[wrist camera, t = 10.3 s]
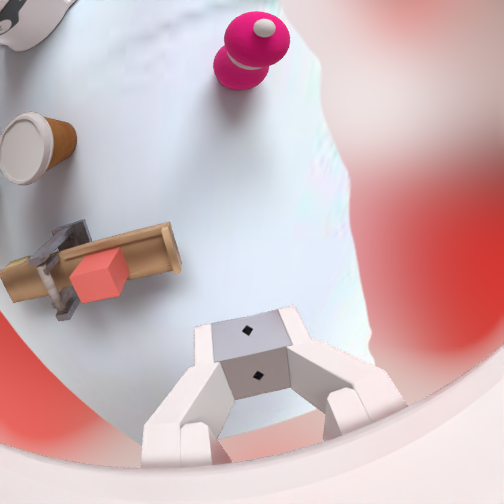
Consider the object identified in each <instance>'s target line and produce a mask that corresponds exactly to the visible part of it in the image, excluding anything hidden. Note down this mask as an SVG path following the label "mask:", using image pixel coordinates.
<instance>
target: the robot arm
mask: <svg viewBox="0 0 504 504" xmlns="http://www.w3.org/2000/svg"><path fill="white" fill-rule="evenodd" d="M75 1H76V0H0V45H7V46H8V47H10V48H11V49H12V50H14V51H25V50H28V49H30V48H32V47H34V46H35V45H37V44H38V43H40V42H41V41H42V40H44V39H45V38H46V37H47V36H48V35H49V34H50V33H51V32H52V31H53V30H54V29H55V27H56V26H57V25H58V24H59V22H60V21H61V19H62V18H63V16H64V14H65V13H66V11H67V9H68V8H69V7H70V6H71V5H72V4H73V3H74V2H75ZM290 387H291V389H293V390H294V391H295V392H296V393H298V394H299V395H300V396H302V397H303V398H304V399H305V400H307V401H308V402H309V403H311V404H312V405H313V406H315V407H316V408H317V409H319V410H320V411H322V412H323V413H324V414H326V416H325V425H324V433H323V440H324V442H321V443H317V444H314V445H311V446H308V447H304V448H300V449H297V450H293V451H289V452H285V453H281V454H277V455H272V456H268V457H263V458H257V459H252V460H246V461H241V462H234V463H232V461H231V459H230V457H229V456H228V455H227V453H226V452H225V450H224V449H223V447H222V446H221V445H220V443H219V442H218V440H217V439H218V437H219V435H220V433H221V431H222V429H223V427H224V424H225V422H226V420H227V418H228V416H229V414H230V412H231V410H232V408H233V405H234V403H235V400H238V399H242V398H247V397H251V396H255V395H259V394H263V393H268V392H273V391H277V390H282V389H286V388H290ZM0 504H504V344H502V345H501V346H500V347H499V348H497V349H496V350H495V351H494V352H493V353H491V354H490V355H489V356H487V357H486V358H485V359H483V360H482V361H481V362H479V363H478V364H477V365H475V366H474V367H473V368H471V369H470V370H468V371H467V372H465V373H464V374H463V375H461V376H460V377H458V378H457V379H455V380H454V381H452V382H451V383H449V384H447V385H445V386H444V387H442V388H441V389H439V390H437V391H436V392H434V393H432V394H430V395H429V396H427V397H426V398H424V399H422V400H420V401H418V402H416V403H414V404H412V405H411V406H408V405H407V404H406V402H405V401H404V399H403V397H402V396H401V394H400V393H399V391H398V390H397V388H396V387H395V385H394V383H393V382H392V380H391V379H390V377H389V376H388V374H387V373H386V371H384V370H382V369H380V368H378V367H375V366H373V365H371V364H369V363H367V362H365V361H363V360H360V359H358V358H356V357H354V356H352V355H350V354H348V353H346V352H343V351H341V350H339V349H337V348H335V347H333V346H331V345H329V344H327V343H325V342H323V341H321V340H319V339H313V340H312V339H311V337H310V335H309V333H308V331H307V329H306V327H305V325H304V323H303V321H302V319H301V317H300V315H299V313H298V311H297V309H296V307H295V306H294V305H290V306H286V307H282V308H278V309H277V310H272V311H268V312H264V313H260V314H256V315H251V316H247V317H242V318H237V319H231V320H226V321H221V322H215V323H212V324H205V325H200V326H195V329H194V366H193V367H189V368H188V369H187V371H186V372H185V373H184V375H183V376H182V377H181V378H180V380H179V381H178V382H177V384H176V385H175V386H174V388H173V389H172V390H171V391H170V393H169V394H168V395H167V397H166V398H165V399H164V401H163V402H162V403H161V404H160V406H159V407H158V408H157V410H156V411H155V412H154V413H153V415H152V416H151V417H150V418H149V420H148V421H147V422H146V424H145V425H144V431H143V444H142V460H141V468H125V467H111V466H101V465H93V464H85V463H78V462H73V461H67V460H62V459H56V458H52V457H48V456H43V455H39V454H35V453H31V452H28V451H25V450H21V449H18V448H15V447H12V446H8V445H6V444H3V443H0Z"/></svg>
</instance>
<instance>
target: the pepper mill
mask: <svg viewBox="0 0 504 504" xmlns="http://www.w3.org/2000/svg"><path fill="white" fill-rule="evenodd" d="M224 42H225V45H224V46H223V47H221V49H220V50H219V51H218V53H217V54H216V56H215V59H214V63H213V68H214V72H215V75H216V77H217V78H218V80H219V82H220V83H221V84H222V85H223V86H225V87H226V88H229V89H232V90H245V89H250V88H253V87H255V86H257V85H258V84H260V83H261V82H262V81H263V80H264V78H265V77H266V75H267V73H268V70H269V66H270V65H273V64H275V63H276V62H278V61H279V60H281V59H282V58H283V57H284V55H285V54H286V52H287V50H288V48H289V44H290V35H289V31H288V29H287V27H286V25H285V24H284V23H283V22H282V21H281V20H280V19H279V18H277V17H276V16H274V15H271V14H269V13H265V12H258V11H255V12H248V13H245V14H242V15H240V16H238V17H236V18H235V19H234V20H233V21H232V22H231V23H230V24H229V26H228V27H227V29H226V32H225V36H224Z"/></svg>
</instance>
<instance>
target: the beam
mask: <svg viewBox="0 0 504 504" xmlns="http://www.w3.org/2000/svg"><path fill="white" fill-rule="evenodd" d="M118 247H121V250H122V253H123V255H124V258H125V261H126V263H127V266H128V268H129V271H130V273H129V276H128V278H127V280H130V279H135V278H140V277H144V276H149V275H154V274H158V273H163V272H168V271H172V270H173V271H174V274H178V273H180V272H181V265H182V262H181V258H180V255H179V252H178V248H177V245H176V241H175V238H174V234H173V231H172V227H171V224H170V222H167V223H162V224H158V225H154V226H150V227H146V228H142V229H138V230H134V231H130V232H127V233H123V234H119V235H115V236H112V237H108V238H104V239H100V240H97V241H93V242H90V243H86V244H83V245H79V246H76V247H72V248H69V249H66V250H62V251H59V252H56V253H52V254H50V255H49V256H48V257H47V259H46V260H45V261H44V262H43V263H42V264H38V265H35V266H32V267H30V265H29V262H28V260H29V259H30V258H31V257H30V256H27V257H24V258H21V259H18V260H15V261H12V262H10V263H9V264H8V265H7V266H6V267H5V268H4V269H3V270H1V271H0V278H1V280H2V282H3V284H4V286H5V288H6V290H7V292H8V294H9V296H10V298H11V300H12V301H13V303H15V302H20V301H25V300H29V299H34V298H38V297H43V296H48V295H50V297H51V299H52V301H53V303H52V305H53V307H54V309H55V308H57V310H58V311H62V310H64V309H65V308H66V302H67V301H68V299H69V298H70V296H71V294H72V293H73V291H74V290H75V289H74V286H73V284H72V282H71V280H70V278H69V277H70V275H71V274H72V273H73V271H74V270H75V269H76V267H77V266H78V265H79V263H80V262H81V261H82V259H83V258H84V257H85V256H88V255H91V254H95V253H99V252H102V251H106V250H110V249H114V248H118Z"/></svg>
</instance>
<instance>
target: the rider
mask: <svg viewBox="0 0 504 504" xmlns="http://www.w3.org/2000/svg"><path fill="white" fill-rule="evenodd" d="M129 273H130V271H129V268H128V266H127V263H126V261H125V258H124V255H123V253H122V250H121V247H118V248H114V249H110V250H106V251H102V252H99V253H95V254H91V255H88V256H85V257H84V258H83V259H82V261H81V262H80V263H79V265H78V266H77V267H76V269H75V270H74V271H73V273H72V274H71V275H70V277H69V278H70V280H71V282H72V284H73V286H74V289H75V291H76V293H77V295H78V297H79V299H80V300H81V302H82V303H87V302H92V301H97V300H102V299H107V298H112V297H117V296H120V295H121V292H122V290H123V287H124V285H125V283H126V280H127V278H128V276H129Z"/></svg>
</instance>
